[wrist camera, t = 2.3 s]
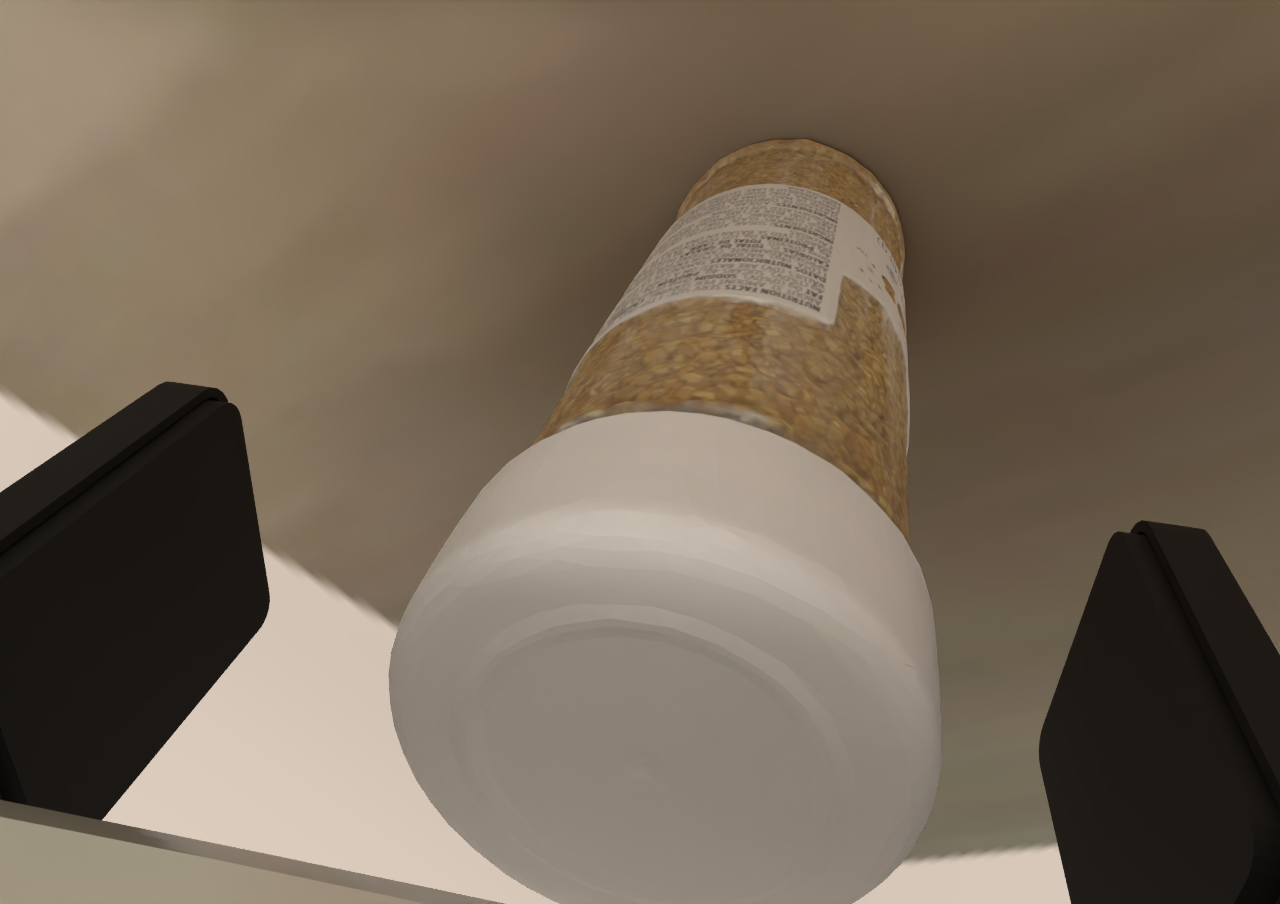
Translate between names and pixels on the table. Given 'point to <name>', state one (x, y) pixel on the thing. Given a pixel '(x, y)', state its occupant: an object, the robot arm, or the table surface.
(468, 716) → the spice jar
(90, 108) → the table surface
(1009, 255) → the table surface
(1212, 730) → the robot arm
